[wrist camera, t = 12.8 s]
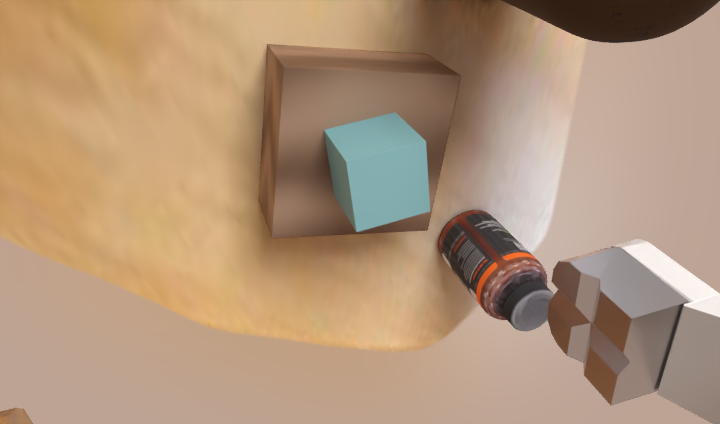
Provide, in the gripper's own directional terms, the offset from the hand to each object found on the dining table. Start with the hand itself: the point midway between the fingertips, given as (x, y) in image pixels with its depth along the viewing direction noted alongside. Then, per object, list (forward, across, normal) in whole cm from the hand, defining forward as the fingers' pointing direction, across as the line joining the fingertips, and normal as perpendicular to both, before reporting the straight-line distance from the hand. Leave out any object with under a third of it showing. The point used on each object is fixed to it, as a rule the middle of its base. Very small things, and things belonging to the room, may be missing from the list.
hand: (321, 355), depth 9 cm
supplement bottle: (+33, -20, +24) cm, 46 cm away
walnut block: (+34, -9, +11) cm, 36 cm away
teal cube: (+28, -9, +11) cm, 31 cm away
